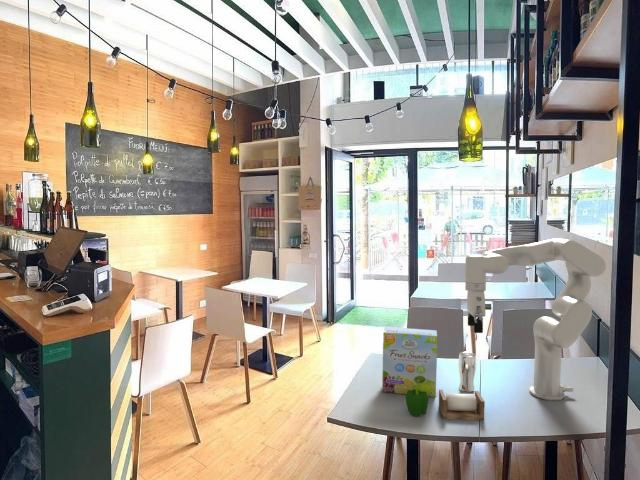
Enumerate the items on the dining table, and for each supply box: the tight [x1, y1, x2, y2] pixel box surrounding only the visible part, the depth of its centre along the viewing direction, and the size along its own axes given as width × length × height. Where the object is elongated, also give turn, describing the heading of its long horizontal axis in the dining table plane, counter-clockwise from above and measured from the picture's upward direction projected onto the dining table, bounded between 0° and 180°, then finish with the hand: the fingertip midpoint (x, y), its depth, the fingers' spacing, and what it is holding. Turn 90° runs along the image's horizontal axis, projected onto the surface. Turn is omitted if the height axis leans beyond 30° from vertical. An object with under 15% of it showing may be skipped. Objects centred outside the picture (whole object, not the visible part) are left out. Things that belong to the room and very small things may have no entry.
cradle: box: [438, 389, 485, 421], centre depth 163 cm, size 14×9×7 cm, turn 84°
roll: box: [445, 392, 477, 411], centre depth 164 cm, size 10×6×6 cm, turn 84°
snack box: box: [381, 326, 438, 398], centre depth 182 cm, size 22×9×26 cm, turn 77°
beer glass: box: [457, 351, 477, 393], centre depth 184 cm, size 7×7×15 cm
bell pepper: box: [405, 385, 430, 417], centre depth 164 cm, size 8×8×10 cm
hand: (475, 329), depth 175 cm, fingers open, 9 cm apart
